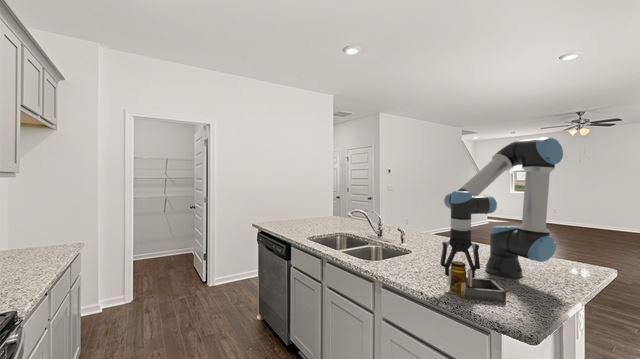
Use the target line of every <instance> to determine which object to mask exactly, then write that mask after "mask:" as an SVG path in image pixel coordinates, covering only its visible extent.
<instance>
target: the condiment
mask: <svg viewBox="0 0 640 359" xmlns="http://www.w3.org/2000/svg"><path fill="white" fill-rule="evenodd" d="M450 268H451V285H449V288H448V291H447V293H450V294H452V295H453V294H454V295H458V296H461V282H465V283H466V277H467V270H466V263H465V262H463V261H455V260H454V261H453V260H452V263H451V265H450Z"/></svg>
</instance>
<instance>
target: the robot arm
mask: <svg viewBox="0 0 640 359" xmlns="http://www.w3.org/2000/svg"><path fill="white" fill-rule="evenodd" d="M563 157H564V149H563V147H562V145H561V143H560V141H559V140H557V139H556V138H553V137H537V138H529V139H519V140H516V141H513V142H511V143H509V144H507V145H505V146H503V147H502V148H501V149H500V150H498V151H497V152H496V153H495V154H494V155H493V156H492V157H491V160H490V161H489V162H488V163H487V164H486V165H485V166H484V167H482V168H481V169H480V170H479V171H477V173H475V175H474V176H472V177H471V178H470V179H469V180H468V181H467V182H465V184H464V185H462V186H461V187H460V188H459V189H458V190H454V191H452V192H450V193H446V195H445V197H444V200H443V203H444V205H445V207H446V208H448V209H450V232H449V233H450V236H449V237H450V239H449V240H448V241H442V242H441V245H442V250H441V256H440V262H439V264H440V266H441V267H442V268H444V274H445V276H446V277H447V285H449V286H450V285H451V263H452V262H453V260H454V258H455V256H456V254H457V253H460V252H461V253H464V255H465V258H466V260H467V263H468V265H469V267H468V268H467V277H468V285H469V286H470V287H472V278H476V277H475V276H476V271H477V270H480V269H481V264H480V256H479V249H480V245H479V244H478V243H472V241H471V239H472V236H471V235H472V232H471V229H472V215H479V214H480V215H481V214H483V215H488V214H492V213H494V212H495V211H496V210H497V207H498V204H497V202H498V201H496V198H495V197H493V196H491V195H480V194H481V193H482V192H484V190H486V189H487V188H488V187H489V186H490V185H491V184H492V183H493V182H495V181H496V180H497V179H498V178H499V177H500V176H501V175H502V174H503V173H504V172H506V171H507V172H508V171H510V170H511V169H512V168H513V167H516V166H520V165H521V168H522V169H523V171H524V172H525V175H524V193H523V204H522V205H523V206H522V216H521V217H522V219H521V224H519V225H518V226H517V225H495V226H492V227H491V228H490V234H489V236H490V238H489V240H490V244H489V246H490V247H489V256H488V260H487V262H486V263H485V271H486V272H488V273H490V274H492V275H495V276H498V277H504V278H511V279H513V278H514V279H517V278H521V277H523V269H522V266H521V264H520V261H519V260H520V259H519V257H521V258H525V259H529V260H530V261H535V262H539V263H544V262H546V261H549V260H550V259H552V258H553V256H554V255H555V253H556V249H557V242H556V239H554V237H552V236H551V235H550V233H551V231H550V230H549V229H548V228H547V216H548V204H549V202H548V201H549V188H550V177H551V176H550V174H551V173H552V171H554V170H555V168H556V165H558V164H560V162H561V161H562V159H563ZM449 247H451V250H450V253H449V255H448V258H447V254H448V248H449ZM470 248H472V252H473V260H474V263H473V260H472V257H471V254H470V252H469V249H470Z"/></svg>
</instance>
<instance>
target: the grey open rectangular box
mask: <svg viewBox="0 0 640 359" xmlns="http://www.w3.org/2000/svg"><path fill="white" fill-rule="evenodd" d="M460 299H462V300H473V301H481V302H482V301H483V302H484V301H485V302H496V303H507V291H505V290H504V288H502V287H501V286H500V285H499V284H498V283H497V282H496V281H495V280H494V279H492V278H479V277H474V278H472V287H470V286H469V285H468V276H466V283H465V282H461V295H460Z"/></svg>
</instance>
